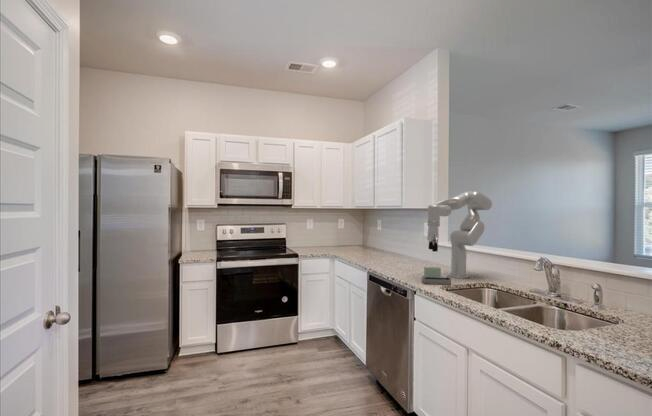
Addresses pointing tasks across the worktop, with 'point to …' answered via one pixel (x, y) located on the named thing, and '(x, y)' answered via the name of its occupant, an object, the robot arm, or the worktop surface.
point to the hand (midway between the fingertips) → (433, 250)
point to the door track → (436, 280)
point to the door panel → (432, 272)
